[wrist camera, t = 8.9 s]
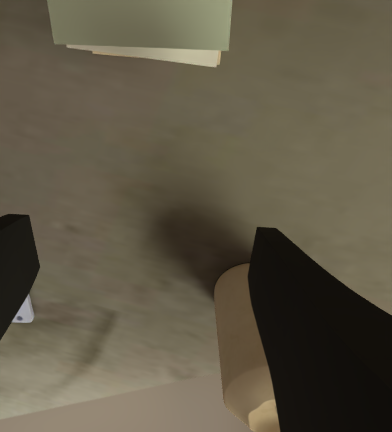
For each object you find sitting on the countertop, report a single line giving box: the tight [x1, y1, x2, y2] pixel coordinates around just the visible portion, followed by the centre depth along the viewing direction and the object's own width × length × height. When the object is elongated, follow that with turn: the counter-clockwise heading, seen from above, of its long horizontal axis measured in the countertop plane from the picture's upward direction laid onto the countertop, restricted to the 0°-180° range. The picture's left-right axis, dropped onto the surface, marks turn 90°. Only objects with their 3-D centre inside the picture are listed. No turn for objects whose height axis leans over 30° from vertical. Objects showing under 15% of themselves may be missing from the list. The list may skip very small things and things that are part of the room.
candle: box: [214, 263, 280, 432], centre depth 21 cm, size 6×6×10 cm
